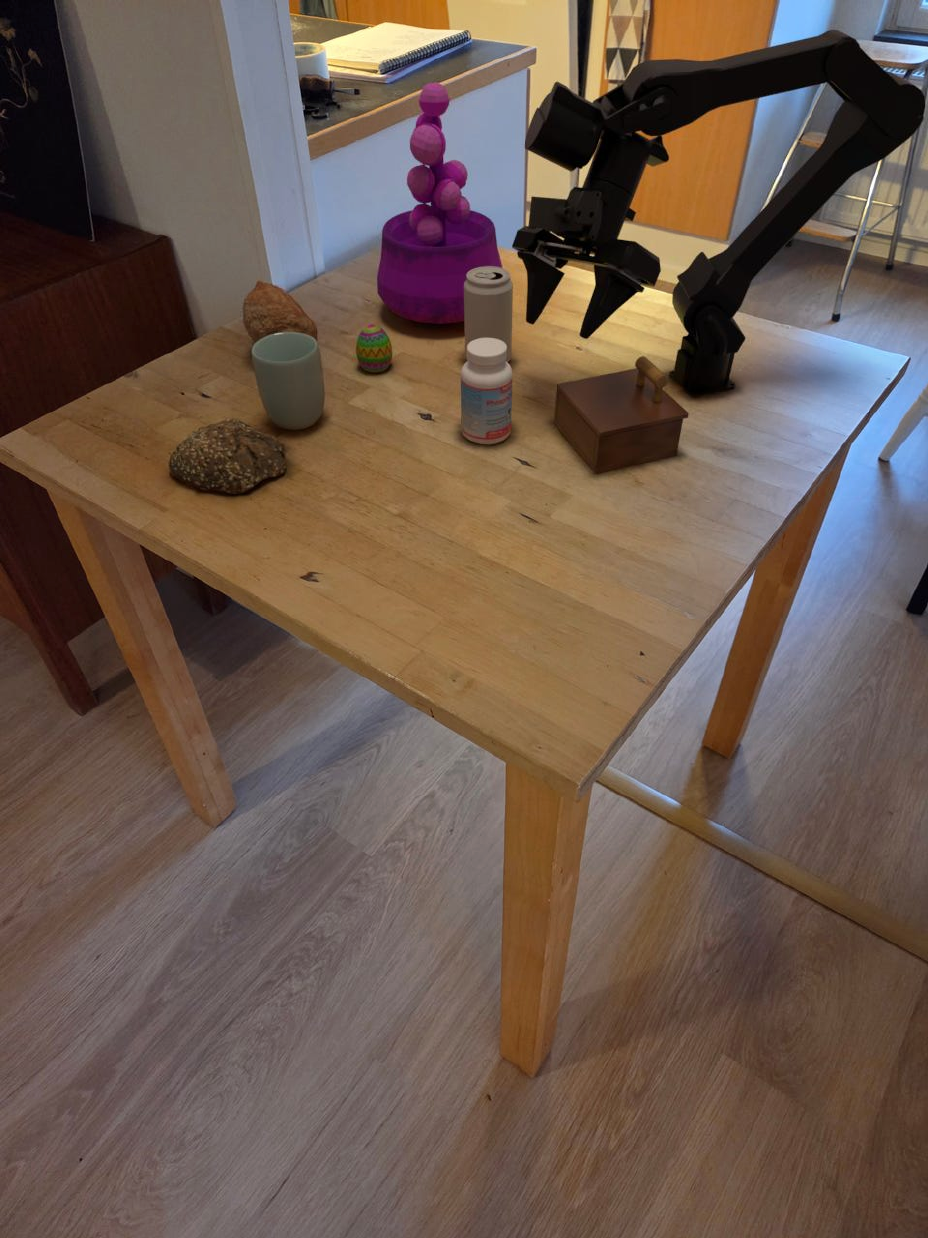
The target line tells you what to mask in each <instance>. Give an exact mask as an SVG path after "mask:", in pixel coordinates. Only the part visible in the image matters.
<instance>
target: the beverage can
mask: <svg viewBox="0 0 928 1238" xmlns="http://www.w3.org/2000/svg"><path fill="white" fill-rule="evenodd" d="M513 297H514V282H513V281H512V279H511V272H510V271H509V270H507V269H506V268H504V267H502V268H500V267H494V266H484V267H478V268H474V269H472V270H470V271H469V272H468V273H467V279H466V281H465V283H464V321H463V322H464V357H465V359H466V362H467V361H468V360H467V356H466V354H467V345H468V344H469V343H470V342H471V341H473V340H475V339H479V338H495V339H499V340H501V341H503V342H504V343H505V344H506V346H507V358H506V362H507V363H508V362H509V361H510V360H511V358H512V352H513V351H512V350H513V311H514V310H513V309H514V306H513V304H514V303H513V301H514V298H513Z"/></svg>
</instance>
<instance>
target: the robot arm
mask: <svg viewBox="0 0 928 1238" xmlns="http://www.w3.org/2000/svg"><path fill="white" fill-rule="evenodd" d="M822 84H823V85H824V84H827V85H828V86H829V87H830V89H832V90H833V91H834V93H835V94H836V95H837V96H838V97H840V99H842V101H843V102H842V103H841V105H840V107H839V108H838V110H836V112H835V114H834V115H833V119H832V121H831V123H830V125H829V127H828V130H827V133H826V135H825V137H824V139H823V141H822V143H821V144H820V146H819V147H818V149H816V150H815V151H814V152H813V154H812V155H811V156H810V157H809V158H808V159H807V160H806V161H805V163H804V164H803V165H802V166H801V167H800V168H799V169H798V170H797V172H795V174H794V175H793V176H792V177H791V178H789V180H788V181H787V182H786V183H785V185H784V186H783V187H782V188H781V189H780V190H779V191H778V192H777V193H776V194H775V195H774V196H773V197H772V198H771V200H770V201H769V202H768V203H767V204H766V205H765V206H764V207H763V209H761V211H760V212H759V213H758V214H757V215H756V216H755V217H754V219H752V220H751V222H749V224H748V225H747V226H746V227H745V228H744V229H743V231H742V232H740V234H739V235H738V236H737V237H736V238H735V239H734V240H733V241H732V243H730V244H729V245H728V247H727V248H725V250H723V251H721V252H719V253H718V254H715V255H713V256H711V257H709V258H708V257H707V255H706V254H705V252H704V251H700V252H699V253H698V254H697V255H696V256H695V258H693V261H692V262H691V263H690V265H689V266H688V267H687V268H686V269H685V270H684V271H683V272H681V273H679V274H678V275H676V278H677V281H678V282H677V283H676V284H675V286H674V287H673V289H672V294H671V295H672V296H671V297H672V300H671V303H672V306H673V310H674V311H675V313H676V315H677V317H678V319H679V320H680V322H681V325H682V326H683V328H684V329H685V331H686V333H688V334H687V335H683V336H682V338H681V344H680V348H679V349H677V352H676V358H675V364H674V370H670V371H669V372H668V378H669V379H672V380H673V381H674V382H675V383H676V385H678V386H679V387H680V388H681V389H682V390H683V391H685V392H686V393H687V394H688V395H689V396H690V397H692V398H698V397H703V396H709V395H712V394H713V395H714V394H718V393H723V392H727V391H732V390H735V389H736V383H735V382H734V381H732V380H731V379H730V377H731V373H732V369H733V368H732V367H733V364H734V359H735V355H736V354H737V353H738V352H739V351H740V349H741V347H742V345H743V344H744V342H745V341H746V336H745V335H744V332H743V331H742V329H741V328H740V327H739V325H738V323H737V322H736V320H735V318H734V317H735V316H736V314H737V313H738V311H739V310H740V309H741V307H742V306H743V303H744V301H745V299H746V296H747V294H748V291H749V289H750V287H751V284H752V283H753V281H754V279H755V278H756V277H757V276H758V274H759V273H760V272H762V270H763V269H764V268H765V267H766V266H767V265H768V264H769V263H770V262H771V261H772V260H773V259H774V258H775V257H776V255H778V254H779V253H780V252H781V251H782V249H783V248H784V247H786V245H787V244H788V243H789V242H790V241H791V240H792V239H793V238H794V237H795V236H796V234H798V233H799V232H800V230H801V229H802V228H803V227H804V226H806V225H807V223H808V222H809V221H810V220H811V219H813V217H814V216H815V215H816V214H817V213H818V212H819V211H820V209H822V208H823V206H824V205H826V203H827V202H828V201H829V200H830V199H831V198H832V197H833V196H834V195H835V194H837V192H838V191H839V189H841V188H842V187H843V186H844V185H845V183H846V182H847V181H849V180H850V178H851V177H853V176H854V175H855V174H857V173H858V172H860V171H862V170H865V169H867V168H869V167H871V166H872V165H875V164H876V163H878V162H880V161H883V160H884V159H886V158H887V157H888V156H889V155H890V154H892V153H893V152H894V151H896V150H897V149H898V148H899V147H901V146H902V145H903V144H904V143H906V142H907V141H908V140H909V139H910V138H911V137H912V136H914V135H915V134H916V132H917V131H918V129H919V128H920V127H921V125H922V123H923V122H924V120H925V117H924V115H925V111H926V96H925V95H924V92H923V90H922V89H920V88H919V87H918V86H917V85H915V84H914V83H911V82H909V81H908V80H906V79H904V78H903V77H901V76H899V75H897V74H895V73H894V72H893V71H892V72H891V71H887V70H885V69H884V68H883V67H882V66H881V65H879V64H878V63H877V62H876V61H875V60H874V59H873V58H872V57H871V56H870V55H868V53H866V51H864V50H863V48H862V47H861V44H860V43H859V42H858V40H857V39H856V38H854V37H852V36H850V35H849V34H847V33H844V31H843V32H842V31H840V30H838V29H829V30H827V31H824V32H823V33H820V34H818V35H814V36H811V37H807V38H802V39H799V40H794V41H790V42H789V41H788V42H785V43H781V44H777V45H773V46H768V47H767V46H766V47H764V48H760V49H755V50H751V51H747V52H743V53H742V52H741V53H737V54H734V55H729V56H725V57H720V58H715V59H713V60H694V59H681V58H669V59H648V60H644V61H641V62H640V63H637V64H636V65H635V66H633V67H632V69H631V71H629V73H628V75H627V77H626V78H625V80H624V82H622V83H620V84H619V85H617V86H615V87H614V88H612V89H611V90H609V91H607V92H605V93H604V94H602V95H601V96H599V97H598V98H595V99H594V100H593V101H590V100H588V99H586V98H584V97H582V96H581V95H579V94H577V93H575V92H573V91H572V90H571V89H570V88H569V87H568V86H566V85H565V84H563V83H561V82H560V81H555V82H554V83H553V86H552V87H551V90H550V92H549V93H548V94H546V96H544V98H543V100H542V101H541V103H540V105H539V107H536V109H535V111H534V114H533V115H532V118H531V120H530V122H529V125H528V128H527V132H526V136H525V140H524V149H525V150H526V151H529V152H531V153H533V154H534V155H537V156H538V157H541V158H543V159H545V160H546V161H549V162H551V163H552V164H554V165H556V166H558V167H561V168H562V169H564V170H566V171H569V172H574V171H575V170H577V169H579V170H582V169H583V168H584V167H586V166H587V165H588V164H589V163H590V162H591V163H590V165H589V168H588V170H587V173H586V177H585V179H584V181H583V184H582V186H581V187H580V186H573V188H572V189H570V191H569V193H568V196H567V198H557V197H543V196H531V198H530V206H529V207H530V208H529V216H528V225H524V226H523V227H521V228H520V229H518V230H516V233H515V236H514V240H513V243H512V245H511V248H512V249H513V250H515V251H517V252H516V255H517V258H518V259H520V260H522V263H523V265H524V267H525V271H526V280H527V281H526V282H527V283H526V284H527V285H526V286H527V287H526V305H525V306H526V307H525V322H526V323H528V324H529V325H535V324H536V322H537V321H538V320H539V318H540V316H541V315H542V313H543V312H544V310H545V308H546V307H547V305H548V303H549V301H550V299H552V296H553V294H554V293H555V291H556V289H557V288H558V286H559V284H560V283H561V282H562V279H563V278H564V276H565V272H563V271H562V270H561V269H563V268H564V267H565V266H566V265H567V264H569V262H575V263H579V264H586V265H592V266H593V275H594V284H595V285H594V289H593V291H592V294H591V296H590V300H589V302H588V305H587V308H586V312H585V314H584V317H583V319H582V322H581V323H582V324H581V327H580V329H579V337H580V338H583V339H586V340H588V339H589V338H590V337H591V336H592V335H593V334H594V333H595V332H596V331H597V330H598V329H600V327H601V326H602V325H603V324H604V323H605V322H606V321H607V320H608V319H609V318H610V317H611V316H612V315H613V314H614V313H615V312H616V311H617V310H619V309H620V308H621V307H622V306H623V305H624V304H625V303H627V302H628V301H629V300H630V299H631V298H632V297H634V296H635V295H636V294H638V293H640V294H641V293H643V292H644V291H645V287H644V286H647V287H653V288H654V287H655V286H656V284H657V281H658V279H659V277H660V274H661V271H662V269H661V268H662V267H661V259H660V257H659V256H657V255H656V254H655V253H653V252H651V251H650V250H648V249H647V248H646V247H644V246H643V245H641V244H640V243H638V242H637V241H634V240H627V239H621V238H619V236H620V233H621V231H622V229H623V227H624V223H625V222H634V219H635V216H636V214H637V211H635V210H634V209H632V208H631V206H632V203H633V201H634V197H635V195H636V193H637V190H638V188H639V186H640V182H641V180H642V176H643V175H644V172H645V169H646V166H647V165H649V166H650V167H652V168H653V167H656V166H660V165H662V164H665V163H667V162H669V160H670V155H669V153H668V150H667V149H666V147H665V145H664V141H663V136H665V135H667V134H670V133H672V132H674V131H677V130H679V129H681V128H683V127H686V126H689V125H691V124H693V123H695V122H696V121H697V120H699V119H700V118H702V117H703V116H704V115H706V114H708V113H710V112H712V111H714V110H716V109H719V108H721V107H727V106H731V105H735V104H739V103H744V102H748V101H752V100H757V99H761V98H765V97H770V96H775V95H779V94H783V93H788V92H792V91H796V90H800V89H805V88H809V87H813V86H814V87H815V86H819V85H822ZM638 132H642V133H643V134H644V135H645V136H644V135H642V134H640V133H638ZM646 136H649V137H652V138H648V137H646Z"/></svg>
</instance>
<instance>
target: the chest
mask: <svg viewBox="0 0 928 1238" xmlns="http://www.w3.org/2000/svg"><path fill="white" fill-rule="evenodd" d="M554 403H555V404H554V415H553V416H554V420H553V424H554V426H555V427H556V428H557V429H558V430H559V432H560V433H561V434H562V436H564V438H565V439H566V440H567V441H568V443H569V444H570V445H571V446H572V447H573V449H575V451H576V452H577V453H578V455H579V456H580V457H581V458H582V459H583V460H584V462H585V463H586V464H587V466H588V467H589V468H590V469H591V470H592V471H593V473H594V474H600V473H604V472H605V473H606V472H610V471H613V470H617V469H622V468H626V467H631V466H636V465H639V464H643V463H649V462H652V461H656V460H657V461H658V460H661V459H665V458H669V457H674V456H677V454H678V450H679V444H680V438H681V434H682V428H683V423H684V419H680V420H675V421H671V422H666V423H662V424H657V425H653V426H648V427H643V428H639V429H634V430H630V431H625V432H621V433H616V434H611V435H607V436H602V437H599V436H598V435H597V433H596V432H595V431H594V430H593V429H592V428H591V427H590V426H589V424H588V423H587V422H586V421H585V420H584V419H583V418H582V417H581V415H580V414H579V413H578V412H577V411H576V410H575V409H574V408H573V406H572V405H571V404H570V403H569V402H568V401H567V400H566V399H565V397H564V396H563V395H562V394H561V393H560V392H559V391H558V390H557V388H555V402H554Z"/></svg>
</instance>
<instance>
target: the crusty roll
mask: <svg viewBox="0 0 928 1238" xmlns="http://www.w3.org/2000/svg"><path fill="white" fill-rule="evenodd" d="M242 313H243V314H242V323H243V325H244V328H245V330H246V332H247V334H248V336H249V338H250V339H251V340H253V342H254V344H255V343H256V342H257V341H259V340H260V339H262V338H264V337H266V336H268V335H271V334H275V333H280V332H297V333H303V334H307V335H309V336H311V337H313V338H315V340H316V341H317V342H318V326H317V323H316V322H315V320H313V319H312V318H311V317H310V316H308V313H307V312H306V311H305V310H304V309H303V307H302V306H301V304H300V303H299V302H298V301H297V299H294V297H293V295H291V294H290V293H289V292H287V291H286V290H284V289H283V288H282V287H280V286H278V285H274V284H273V283H268V282H263V281H262V280H260V279H259V280H257V281H256V284H255V286H254V288H253V289H251V291H249V292H248V294H247V295H246V297H245V298H244V300H243V305H242Z"/></svg>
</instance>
